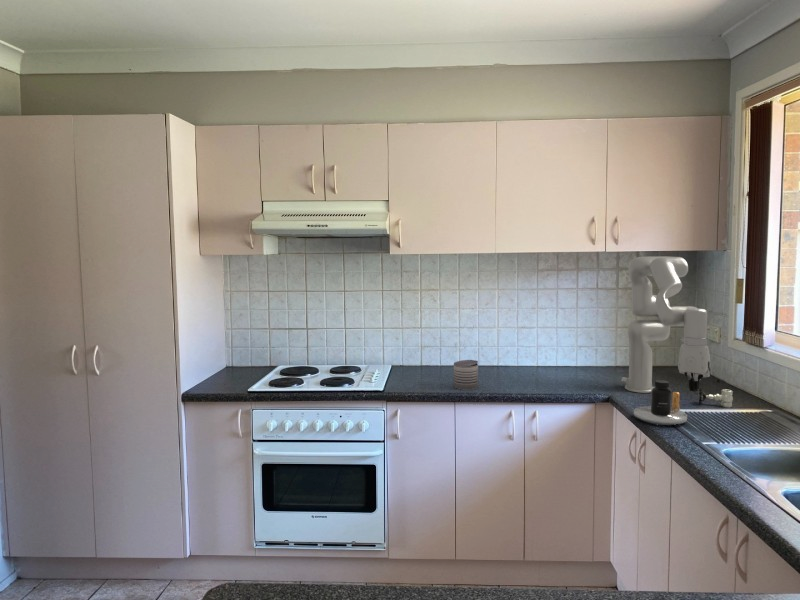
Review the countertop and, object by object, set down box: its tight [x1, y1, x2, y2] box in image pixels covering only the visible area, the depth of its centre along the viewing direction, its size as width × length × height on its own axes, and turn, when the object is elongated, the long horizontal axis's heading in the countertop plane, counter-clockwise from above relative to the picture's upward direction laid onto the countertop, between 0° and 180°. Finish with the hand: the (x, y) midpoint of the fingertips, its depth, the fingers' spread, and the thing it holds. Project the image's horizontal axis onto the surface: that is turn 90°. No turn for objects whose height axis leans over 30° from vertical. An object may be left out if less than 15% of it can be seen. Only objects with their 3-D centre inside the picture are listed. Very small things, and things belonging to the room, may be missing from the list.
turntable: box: [633, 391, 688, 425], centre depth 210 cm, size 22×18×7 cm
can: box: [453, 359, 479, 391], centre depth 261 cm, size 11×11×12 cm
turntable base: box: [639, 419, 674, 427], centre depth 209 cm, size 14×14×1 cm
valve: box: [698, 387, 734, 408], centre depth 227 cm, size 7×7×12 cm
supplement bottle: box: [650, 379, 673, 415], centre depth 208 cm, size 7×7×12 cm
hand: (693, 390), depth 209 cm, fingers closed
